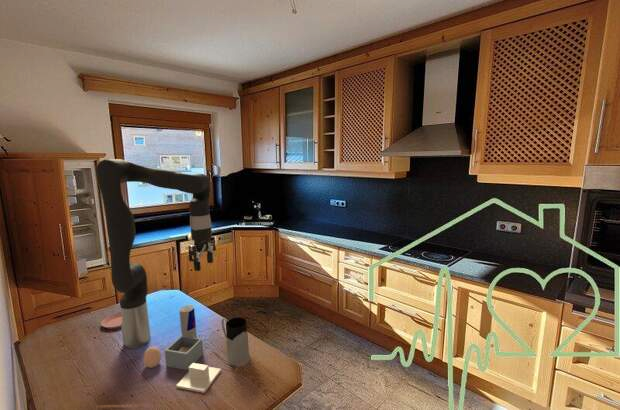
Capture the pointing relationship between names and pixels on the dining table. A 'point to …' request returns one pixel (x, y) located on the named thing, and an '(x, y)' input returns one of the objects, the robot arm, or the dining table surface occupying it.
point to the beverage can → (188, 321)
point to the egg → (152, 357)
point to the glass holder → (236, 341)
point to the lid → (198, 378)
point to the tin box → (182, 358)
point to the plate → (112, 321)
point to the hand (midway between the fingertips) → (204, 266)
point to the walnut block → (185, 349)
